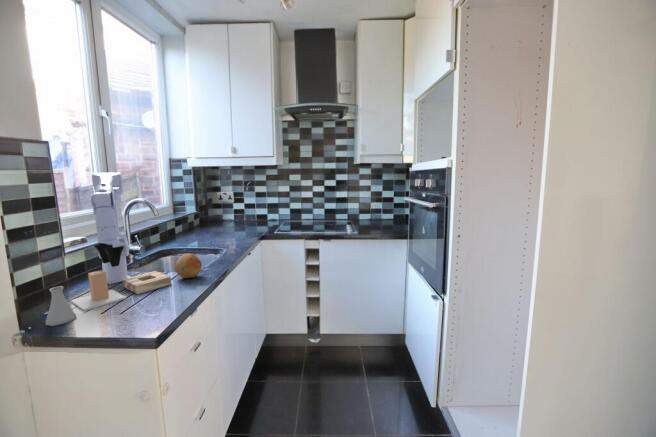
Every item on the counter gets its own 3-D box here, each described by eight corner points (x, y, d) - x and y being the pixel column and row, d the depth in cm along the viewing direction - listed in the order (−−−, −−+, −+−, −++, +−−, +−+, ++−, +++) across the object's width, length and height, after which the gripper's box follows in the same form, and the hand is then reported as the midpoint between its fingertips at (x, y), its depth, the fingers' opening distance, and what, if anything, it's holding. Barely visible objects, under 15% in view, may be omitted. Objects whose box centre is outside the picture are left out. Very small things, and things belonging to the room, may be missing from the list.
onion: (173, 283, 122) (171, 258, 121) (179, 275, 132) (177, 251, 130) (200, 280, 124) (198, 256, 123) (203, 273, 134) (202, 250, 132)
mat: (71, 302, 106) (71, 300, 106) (112, 290, 115) (112, 289, 115) (83, 311, 98) (83, 309, 98) (126, 298, 108) (126, 296, 108)
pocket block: (123, 287, 119) (122, 279, 118) (156, 278, 128) (155, 270, 128) (137, 294, 112) (136, 286, 111) (171, 284, 121) (170, 276, 121)
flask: (81, 318, 94) (77, 286, 92) (51, 329, 88) (45, 294, 86) (70, 313, 97) (66, 282, 96) (40, 323, 91) (35, 290, 90)
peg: (91, 298, 107) (88, 273, 105) (105, 295, 110) (102, 270, 108) (94, 301, 104) (91, 275, 103) (109, 297, 107) (105, 272, 106)
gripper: (127, 226, 109) (132, 264, 111) (111, 223, 118) (115, 258, 120) (104, 230, 103) (109, 270, 105) (88, 226, 112) (93, 263, 114)
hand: (111, 264), depth 112 cm, fingers open, 7 cm apart
